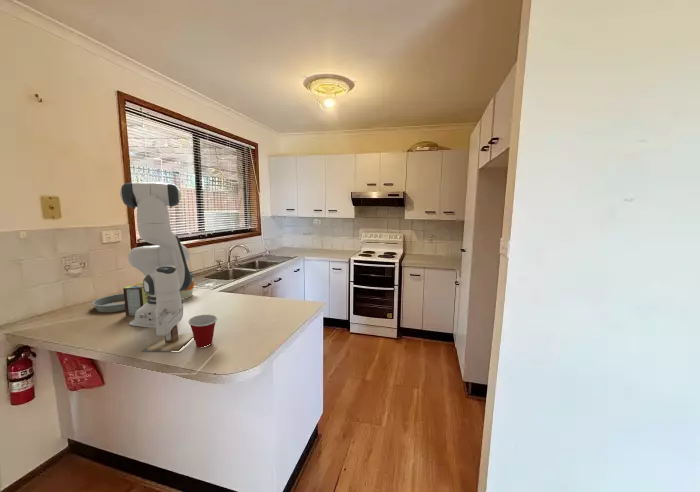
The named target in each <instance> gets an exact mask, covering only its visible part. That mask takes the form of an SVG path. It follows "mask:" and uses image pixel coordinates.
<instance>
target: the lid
mask: <svg viewBox="0 0 700 492" xmlns="http://www.w3.org/2000/svg"><path fill="white" fill-rule="evenodd" d="M170 333H171V335H172V338H171V340H166V336H161V337H162V338H161V337H160V338H159V339H157V340H156V341H154V342H153V343H151V344H152V345H151V344H150V345H148V346H149V347H148V346H147V347H145V349H146V351H179V350H180V349H181V348H182V347H183V346H185V345H186V344H187V343H188V342H189V341H190V340H191V339H192V338H194V336H193V333H192V334H189V333H188V334H186V333H185V334H184V333H179V327H178V325H177V326H174V327H173V328H172V330H171V332H170Z"/></svg>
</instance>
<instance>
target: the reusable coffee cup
mask: <svg viewBox="0 0 700 492" xmlns="http://www.w3.org/2000/svg"><path fill="white" fill-rule="evenodd" d="M190 274H191V276H192V284H191V285H190V286H189V288H188V289H187V290H183V291H179V293H180V296H181V298H183V299H187V298H191V297H192V296H193V291H194V287H195V286H194V285H195V280H194V278H195V273H194V272H193V271H190Z"/></svg>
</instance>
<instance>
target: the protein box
mask: <svg viewBox="0 0 700 492" xmlns="http://www.w3.org/2000/svg"><path fill="white" fill-rule="evenodd" d="M122 290H123V293H124V303H125V310H124V311H125V316H129V317H130V316H131V317H133V316H134V317H135V313H136V311H137V310H138V309H139V308H141V307H142V306H143V305H144V304H146V303H147V301H148V299H146V297H148V296H149V295H150V294H148V293H146V292H145V291H144V286H143V280H142V281H139V282H136V283H134V284H131V285H127V286H125V287H123V289H122ZM145 299H146V300H145Z"/></svg>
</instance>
